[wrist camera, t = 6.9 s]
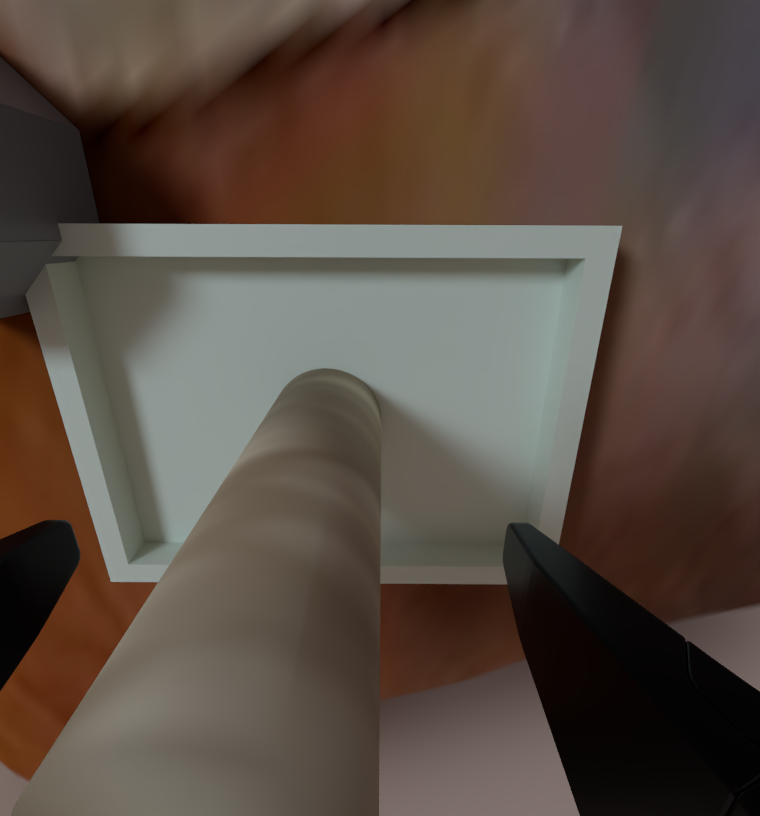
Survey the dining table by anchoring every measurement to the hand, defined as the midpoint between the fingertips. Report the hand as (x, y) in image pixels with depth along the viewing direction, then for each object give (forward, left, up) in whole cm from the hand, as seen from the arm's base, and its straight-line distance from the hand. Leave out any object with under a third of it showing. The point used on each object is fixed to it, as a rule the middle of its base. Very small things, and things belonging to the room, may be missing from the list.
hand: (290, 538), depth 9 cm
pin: (0, 0, -6) cm, 6 cm away
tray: (0, 0, -7) cm, 7 cm away
